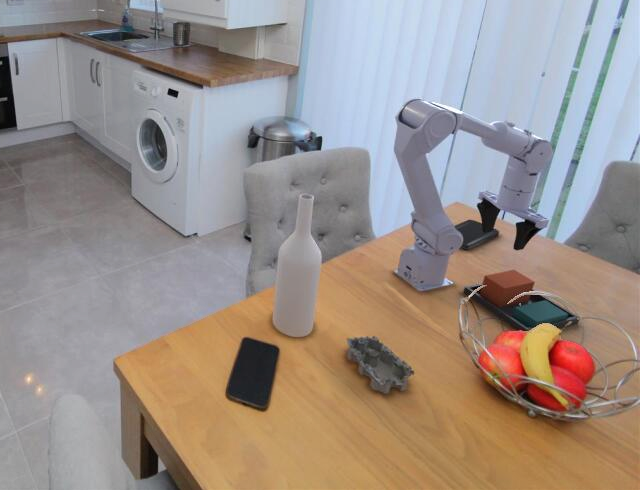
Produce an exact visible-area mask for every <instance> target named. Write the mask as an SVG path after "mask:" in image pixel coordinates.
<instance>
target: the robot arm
mask: <svg viewBox="0 0 640 490" xmlns="http://www.w3.org/2000/svg"><path fill="white" fill-rule="evenodd" d="M394 119H395V121H396V132H395V138H394V144H393V152H394V156H395V158H396V161H397V164H398V166H399V169H400V172H401V175H402V178H403V181H404V183H405V186H406V189H407V192H408V195H409V199H410V200H411V203H412V206H413V211H411V212H410V216H411V221H410V229H411V231H412V232H413V233H414V236H413V239H414V243H412V245H410V246H409V247H407V248H403V250H401V253H400V256H399V262H398V266H397V269H395V270H394V271H393V272H394V274H395V275H396V276H398V277H400V278H401V279H403V280H404V281H405V282H407V283H408V284H409V285H410V286H412V287H413V288H414V289H416V291H418V292H424V291H428V290H434V289H438V288H442V287H443V288H444V287H447V286H452V285H454V282H453V281H451V280H450V279H449V278H447V277H446V275H447V270H448V266H449V262H450V258H451V255H454V253H455V254H456V252H458V251H459V250H460V247H461V246H462V243H463V236H462V234H461V233H460V232H459V231H457V230H456V229H455V224H454V223H453V221H452V220H451V218H450V217H449V216H448V215H447V213H446V212H445V210H444V206H443V203H442V200H441V197H440V195H439V191H438V188H437V185H436V182H435V179H434V175H433V172H432V170H431V167H430V163H429V161H428V158H427V154H430V153H431V152H432V151H434V150H435V149H436V148H437V147H438V146H439V145H440V144H441V143H443V141H445V140H446V139H447V138H449V136H450V135H457V133H458V131H462V132H464V133H468V134H470V135H474V136H476V137H479V138H480V140H481V144H483V146H485V147H487V148H489V149H492V150H493V151H497V152H499V153H502V154H504V155H507V156H508V159H507V161H506V166H505V170H504V173H503V177H502V180H501V184H500V188H499V191H498V194H497V193H494V192H492V191H489V190H481V191H479V192H478V196H477V199H478V200H479V201H481V202H477V203H476V208H477V210H478V212H479V215H480V219H481V223H482V231H483V232H484V233H488V232H492V230H493V228H494V229H495V225H496V221H497V219H498V216H499V215H500V212H501V211H503V212H505V213H509V214H512V215H514V216H516V217H518V218H520V219H522V220H523V221H518V222H515V227H516V228H515V231H516V232H515V239H514V242H513V247H512V248H513V250H515V251H521V250H524V249H525V247H526V246H527V245H528V243H529V242H530V241H531V239H533V237H534V236H535V235H537V234H538V233H539V232H541V231H542V230H543V229H545V228H546V229H547V227H548V225H549V222H550V219H549V218H547V217H545V216H543V215H542V214H541V213H539V212H538V211H536V210H535V209H533V208H532V207H531V202H532V198H533V195H534V192H535V189H536V185H537V183H538V179H539V175H540V174H541V173H542V172H543V171H544V170H545V167H546V165H547V163H549V162H550V161H551V159H552V158H553V157H554V154H555V151H553V146H552V144H551V142H550V141H548V140H547V139H544V138H542V137H540V136H537V135H534V134H533V131H531V130H529V129H526V128H525V129H520V128H518V127H516V124H515V123H514V122H511V121H509V120H504V121H494V122H491V123H488V122H486V121H484V120H483V119H479V118H477V117H475V116H472V115H470V114H468V113H466V112H464V111H462V110H458V109H457V108H455V107H451V106H449V105H444V104H440V103H438V102H434V101H428V102H427V101H426V100H425V99H422V98H418V97H417V98H416V97H415V98H411V99H409V100H407V101H406V102H404V104H403V105H402V106H401V108H400V109H399V111H398V112H397V113H396V115H395V116H394Z"/></svg>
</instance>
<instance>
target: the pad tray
mask: <svg viewBox="0 0 640 490" xmlns="http://www.w3.org/2000/svg"><path fill="white" fill-rule="evenodd" d="M482 284H483V282H481V283H476V284H472V285H467V286H464V288H463V293H464V294H465V295H466V296H468V295H470V294H471V293H472V292H473V291H474V290H475V289H477V288H478V287H480V286H482ZM480 291H481V289H480V290H479V291H477V292H476V293H475V294H474V295H473V296H472V297H470V299H472V300H473V301H474V302H476V303H478V304H479V305H480V306H482V307H483V308H484V309H486V310H488V311H489V312H490V313H492V314H493V315H494V316H496V317H497V318H498V319H500V320H502V319H503V320H502V321H503V322H504V323H506V324H507V325H509V326H510V327H511V328H512V329H514V330H515V331H517V330H522V331H529V330H531V329H532V328H534V327H536V326H533V327H529V328H527V327H526V326H524V325H523V324H522V323H520V322H519V321H517V320H516V319H514V318H513V317H512V315H513V312H514V309H515V307H518V306H520V305H519V303H517V304H513V305H508V306H504V307H500V308H499V307H497V306H496V305H494V304H493V303H491V302H490V301H488V300H487V299H486V298H484V297H483V296H481V295H480ZM532 291H536V290H535V289H534V288H533V289H532ZM542 295H543V294H542ZM542 295H530V298H529V301H526V302H521V306H522V305H527V304H531V303H535V302H540V301H544V300H546V301H548V302H549V303H551V304H553V305H554V306H556V307H557V308H559V309H561V310H562V311H564V312H566V313H567V314H568V316H567V318H566V319H562V320H558V321H554V322H550V324H552V325H554V326H556V327H557V328H559V329H563V328H565V327H564V326H565V325H566V324H567V323H568V322H569V321H572V323H571V324H570V325H569V326H568V327H571V326H574V325H578V324H579V321H580V319H581V317H580V316H578V315H577V314H575V313H573V312H572V311H570V310H568V309H567V308H565V307H563V306H562V305H560V304H559V303H557V302H555V301H553V300H552V299H551V298H549V297H547V296H546V295H544V296H542ZM577 318H580V319H579V320H577Z"/></svg>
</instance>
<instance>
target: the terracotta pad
mask: <svg viewBox="0 0 640 490" xmlns="http://www.w3.org/2000/svg"><path fill="white" fill-rule="evenodd" d="M482 283H483V284H482V285H487V286H485V287H483V288H481V291H480V295H481V296H483V297H484V298H486V299H487V300H488V301H490V302H491V303H493V304H494V305H496V306H497V307H499V308H500V307H504V306H508V305H513V304H517V303H521V302H526V301H529V298H530V295H524V296H521V297H519V298H518V299H516V300H514V301H513V302H511V303H509V304H507V303H508V302H509V301H510V300H511V299H513V298H514V297H515V296H517V295H519V294H521V293H523V292H529V291H532V289H534V286H535V281H534V280H533V279H531V278H529V277H527V276H526V275H524V274H523V273H521V272H519V271H517V270H515V269H510V270H505V271H500V272H496V273H491V274H486V275H484V277H483V281H482Z"/></svg>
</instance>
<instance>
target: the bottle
mask: <svg viewBox="0 0 640 490" xmlns="http://www.w3.org/2000/svg"><path fill="white" fill-rule="evenodd" d="M314 200H315V197H314V195H313V194H310V193H301V194H299V196H298V202H297V203H298V204H297V211H296V212H297V214H296V221H295V227H294V231H293V233H291V234H290V236H288V237H287V238H286V239H285V240H284V242H283V243H282V244H281V245H280V246H279V250H278V255H277V265H276V266H277V267H276V275H275V276H276V277H275V286H274V287H275V288H274V297H273V298H274V300H273V309H272V324H273V326H274V327H275V328H276V330H277V331H279V333H281V334H283V335H285V336H288V337H292V338H303V337H307V336H308V335H310V334H311V333H312V331H313V329H314V322H315V315H316V307H317V299H318V294H319V293H318V292H319V284H320V276H321V269H322V260H323V258H322V257H323V256H322V251H321V249H320V248H319V246H318V244H317V243H316V241H315V239H314V237H313V236H312V234H311V229H312V217H313V211H314Z"/></svg>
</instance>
